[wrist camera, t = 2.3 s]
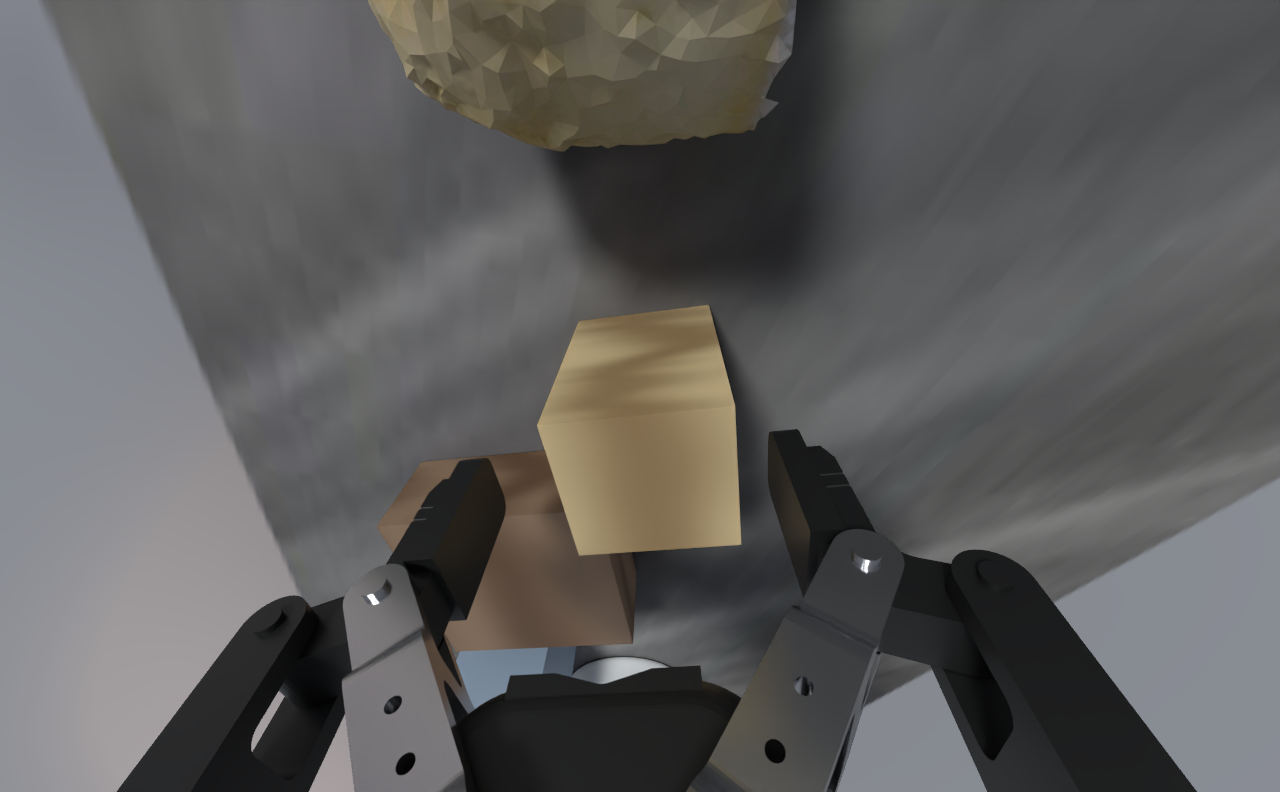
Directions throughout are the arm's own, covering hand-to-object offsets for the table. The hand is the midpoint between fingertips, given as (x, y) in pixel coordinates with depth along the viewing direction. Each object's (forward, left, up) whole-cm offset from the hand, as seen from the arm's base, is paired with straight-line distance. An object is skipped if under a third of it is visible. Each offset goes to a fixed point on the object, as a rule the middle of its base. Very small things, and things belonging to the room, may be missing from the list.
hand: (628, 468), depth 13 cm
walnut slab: (+6, +8, -6) cm, 12 cm away
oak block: (-1, 0, -6) cm, 6 cm away
